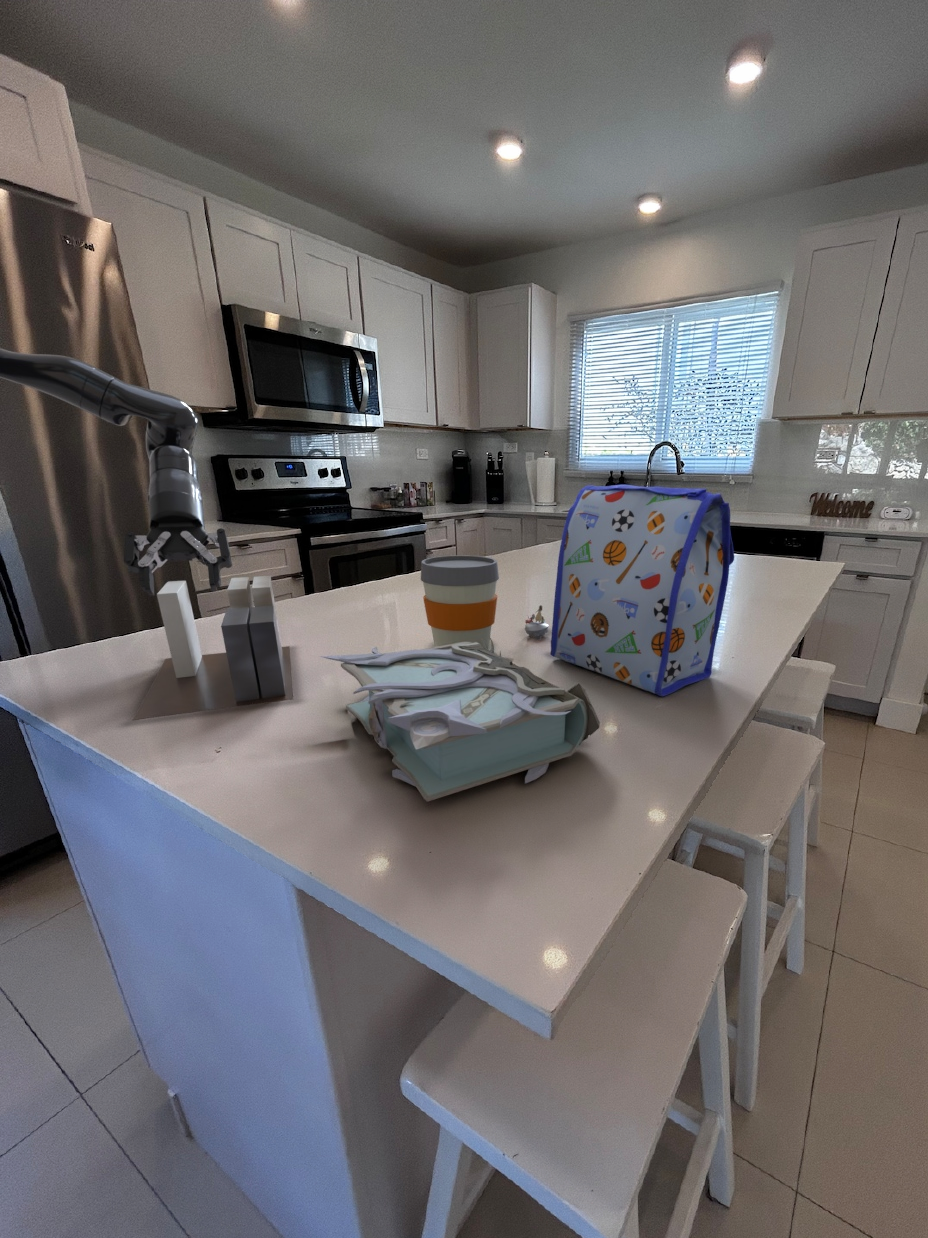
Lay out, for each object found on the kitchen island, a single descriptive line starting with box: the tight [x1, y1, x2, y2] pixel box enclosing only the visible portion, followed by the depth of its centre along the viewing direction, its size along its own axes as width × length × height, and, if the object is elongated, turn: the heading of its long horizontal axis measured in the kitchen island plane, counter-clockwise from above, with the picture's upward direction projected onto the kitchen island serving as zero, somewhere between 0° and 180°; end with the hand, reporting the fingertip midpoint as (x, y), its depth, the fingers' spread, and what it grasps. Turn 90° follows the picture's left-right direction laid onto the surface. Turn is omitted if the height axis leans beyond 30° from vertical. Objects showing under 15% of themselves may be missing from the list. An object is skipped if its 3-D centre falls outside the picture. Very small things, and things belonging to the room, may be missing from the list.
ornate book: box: [319, 637, 601, 803], centre depth 65 cm, size 23×10×30 cm
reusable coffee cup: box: [420, 554, 500, 651], centre depth 93 cm, size 13×13×15 cm
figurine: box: [524, 604, 550, 641], centre depth 102 cm, size 5×4×6 cm
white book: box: [156, 580, 203, 678], centre depth 81 cm, size 2×9×12 cm, turn 22°
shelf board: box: [132, 575, 295, 721], centre depth 78 cm, size 18×24×13 cm
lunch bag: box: [550, 484, 735, 697], centre depth 83 cm, size 23×17×27 cm
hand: (181, 590), depth 86 cm, fingers open, 8 cm apart
